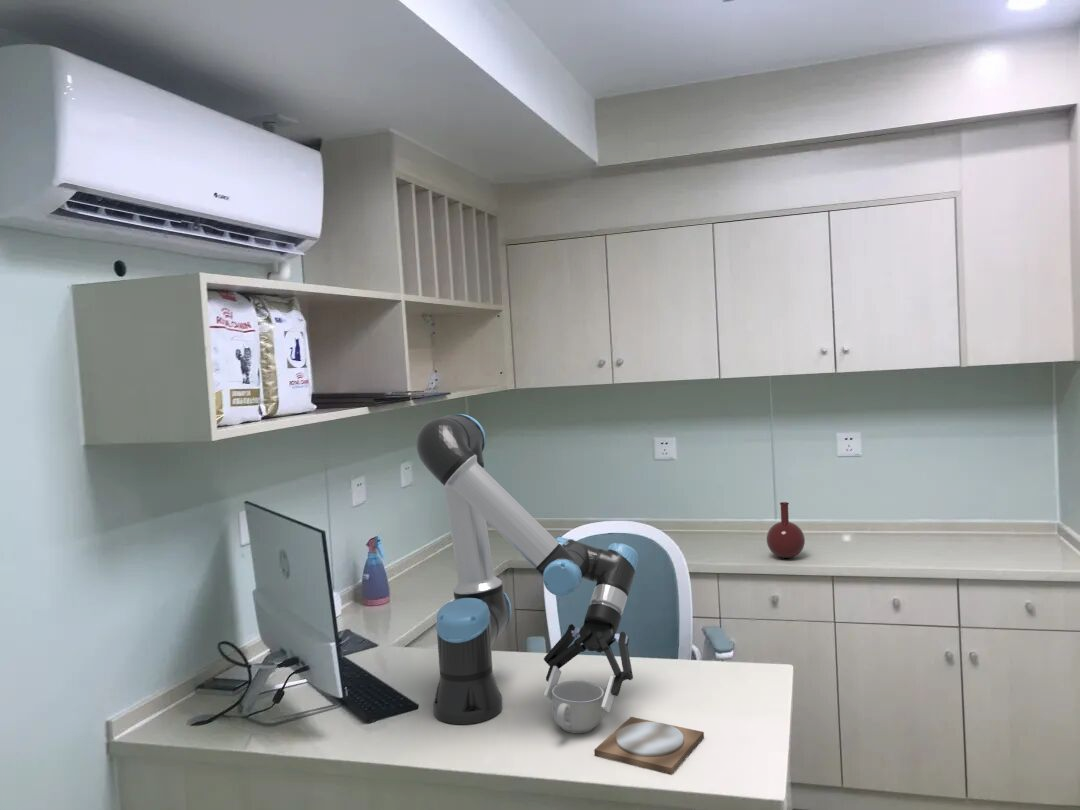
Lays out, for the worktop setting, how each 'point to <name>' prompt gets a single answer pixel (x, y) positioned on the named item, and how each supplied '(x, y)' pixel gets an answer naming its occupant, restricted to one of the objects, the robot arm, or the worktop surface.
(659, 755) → the walnut board
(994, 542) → the worktop surface
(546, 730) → the worktop surface
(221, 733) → the worktop surface
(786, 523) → the round-bottom flask
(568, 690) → the teacup
